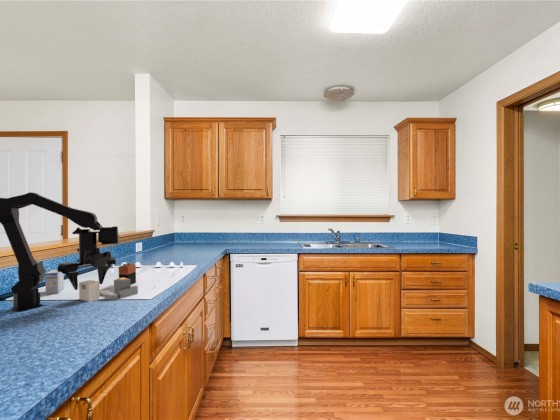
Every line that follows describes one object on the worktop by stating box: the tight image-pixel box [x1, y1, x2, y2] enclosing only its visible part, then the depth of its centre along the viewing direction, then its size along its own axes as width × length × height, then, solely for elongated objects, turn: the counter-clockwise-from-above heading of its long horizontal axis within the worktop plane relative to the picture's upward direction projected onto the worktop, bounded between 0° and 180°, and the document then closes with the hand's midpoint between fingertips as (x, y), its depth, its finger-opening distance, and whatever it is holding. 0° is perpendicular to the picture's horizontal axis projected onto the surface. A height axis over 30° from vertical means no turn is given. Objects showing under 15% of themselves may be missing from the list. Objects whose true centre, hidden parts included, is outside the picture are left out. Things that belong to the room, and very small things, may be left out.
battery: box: [118, 262, 137, 286], centre depth 139 cm, size 4×7×10 cm, turn 175°
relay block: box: [113, 277, 132, 293], centre depth 122 cm, size 4×4×6 cm
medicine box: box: [44, 269, 65, 295], centre depth 131 cm, size 8×4×9 cm, turn 21°
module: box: [78, 279, 101, 302], centre depth 117 cm, size 4×6×7 cm
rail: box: [99, 284, 139, 300], centre depth 124 cm, size 8×17×4 cm, turn 62°
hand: (88, 286), depth 117 cm, fingers open, 9 cm apart
